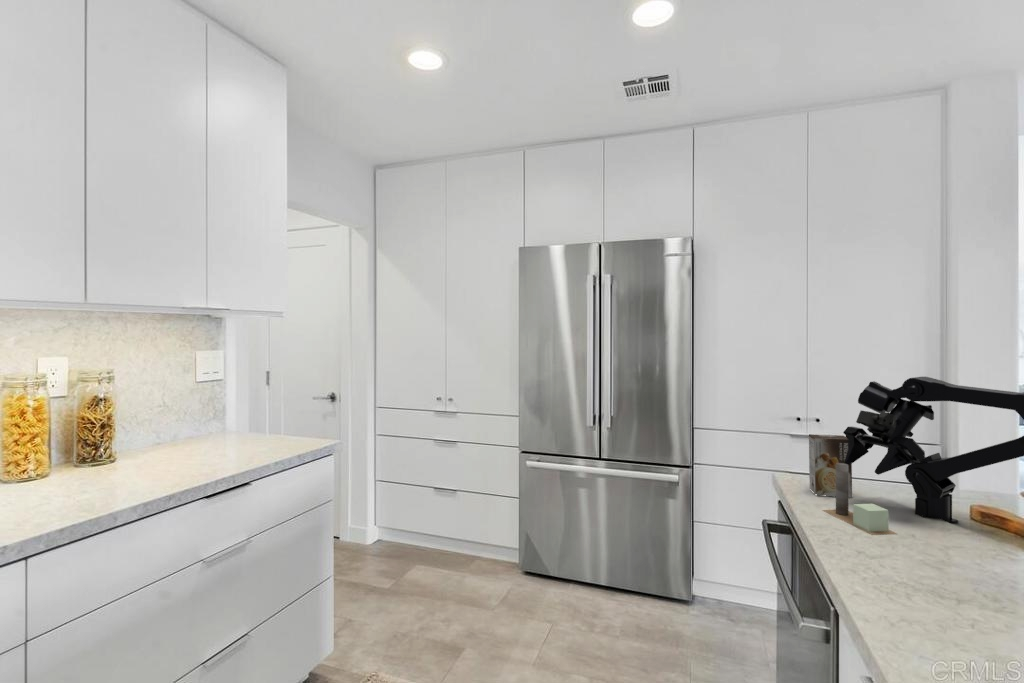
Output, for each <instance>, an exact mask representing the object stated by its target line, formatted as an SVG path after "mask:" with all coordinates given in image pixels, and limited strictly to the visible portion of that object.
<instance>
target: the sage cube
mask: <svg viewBox="0 0 1024 683" xmlns="http://www.w3.org/2000/svg"><path fill="white" fill-rule="evenodd" d="M852 510H853V511H852V513H853V524H854V525H856V526H858V527H860V528H862V529H864V530H866V531H868V532H877V531H889V530H890V528H889V524H890V523H889V509H886V508H884V507H882V506H880V505H877V504H875V503H853V509H852Z"/></svg>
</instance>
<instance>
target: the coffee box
mask: <svg viewBox="0 0 1024 683" xmlns="http://www.w3.org/2000/svg"><path fill="white" fill-rule="evenodd" d="M848 448H849V440H848V439H847V438H846V435H836V434H835V435H834V434H811V433H809V434H808V458H809V459H808V463H809V465H808V470H809V490H810V489H811V490H812V491H813V492H814V494H817V495H826V496H836V463H844V462H845V459H846V455H847V452H848ZM844 464H845V463H844ZM811 490H810V491H811ZM814 494H813V495H814ZM826 496H825V497H826ZM848 498H849V499H852V498H853V463H852V464H850V465H848Z"/></svg>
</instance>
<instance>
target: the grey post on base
mask: <svg viewBox="0 0 1024 683" xmlns="http://www.w3.org/2000/svg"><path fill="white" fill-rule="evenodd" d="M849 499H850V498H848V464H844V463H836V497H835V509H822V511H823V512H825V513H827V514H829V516H830V515H831V516H833V517H835V518H837V519H839V520H841V521H843V522H844V523H846V524H849V525H851V526H852V527H855V528H857V529H859V530H860V531H863V532H865V533H866V534H868V535H871V536H883V535H898V533H897V532H895V531H893V530H890V529H889V531H877V532H868V531H866V530H864V529H862V528H860V527H858V526H856V525H854V524H853V511H850V510H849V505H850V504H849Z"/></svg>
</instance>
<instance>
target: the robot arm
mask: <svg viewBox="0 0 1024 683" xmlns="http://www.w3.org/2000/svg"><path fill="white" fill-rule="evenodd" d="M857 399H858V400H857V404H860V406H864V407H865V408H868V409H870V410H872V411H866V410H860V411H859V414H858V416H857V418H856V421H855V423H857V424H860V425H863V426H865V427H867V431H868V432H869V433H870V434H871V435H869V433H867V432H866V431H865V430H864V429H863V428H861V427H857V426H847V427H846V429H845V430H844V431H843V434H844V436H845V437H846V438H847V439H848V440H849V448H848V452H847V455H846V459H845V462H844V463H845V464H848V465H850V464H852V465H853V464H854V463H855V462H857V460H859V459H860V458H862V457H863V456H865V455H866V454H868V453H869V452H870V451H869V449H872V447H874V446H879V447H883V448H886V449H887V452H886V454H885V455H884V457H883V458H882V459H881V460H880V462H879V463H878V465H877V466H876V468H875V470H874V473H875V474H876V475H882V474H884V473H887V472H889V471H892V470H894V469H897V468H901V467H903V466H906V467H905V470H904V476H905V478H906V480H907V481H908V482H909V483H910V484H911V485H912V488H913V491H914V493H915V494H916V497H915V499H914V500H915V501H914V502H915V505H914V513H915V515H917V516H919V517H922V518H924V519H935V520H941V521H944V522H947V523H949V524H957V523H959V520H958V519H956V518H953V494H951V493H953V492H954V490H955V488H956V484H955V483H954V482H953V481H952V480H951V479H950V477H953V476H954V475H956V474H960V473H964V472H968V471H972V470H975V469H979V468H983V467H987V466H991V465H994V464H998V463H999V464H1000V463H1003V462H1006V461H1010V460H1014V459H1019V458H1022V457H1024V435H1022V436H1020V437H1018V438H1015V439H1012V440H1008V441H1005V442H1000V443H997V444H994V445H993V444H992V445H990V446H986V447H982V448H979V449H976V450H972V451H969V452H966V453H961V454H958V455H954V456H948V457H942V456H941V453H940V452H936V453H933V454H930V455H928V456H926V454H925V452H926V451H925V450H924V449H923V448H922V447H921V446H920V445H919V444H918V443H917V441H916V440H915V439H914V438H912V437H913V436H914V433H913V431H912V430H913V429H914V427H915V426H916V425H917V424H918V423H919V421H920V420H921V419H922V418H923V417H924V418H926V419H928V420H930V421H933V420H935V411H934V410H933V406H932V404H929V405H928V404H927V405H926V404H925V405H924V404H921V403H918V402H953V403H954V402H955V403H961V404H970V405H975V406H981V407H982V406H983V407H989V408H990V407H991V408H998V409H1003V410H1004V409H1006V410H1010V411H1011V410H1012V411H1015V412H1016V413H1017V414H1018V416H1020V417H1021V419H1022V420H1023V421H1024V392H1019V391H1010V390H1000V389H993V388H985V387H983V388H982V387H975V386H968V385H967V386H966V385H959V384H953V383H949V382H946V381H944V380H941V379H937V378H933V377H929V376H916V377H910V378H907V379H905V380H904V382H903V383H902V385H901V386H899V387H897V388H894V389H891V388H889V387H886V386H884V385H882V384H881V383H879V382H877V381H875V380H874V381H869V384H868V385H867V386H866V387H865V388H864V389H863V390H862V392H860V394H859V396H858V398H857Z"/></svg>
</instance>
